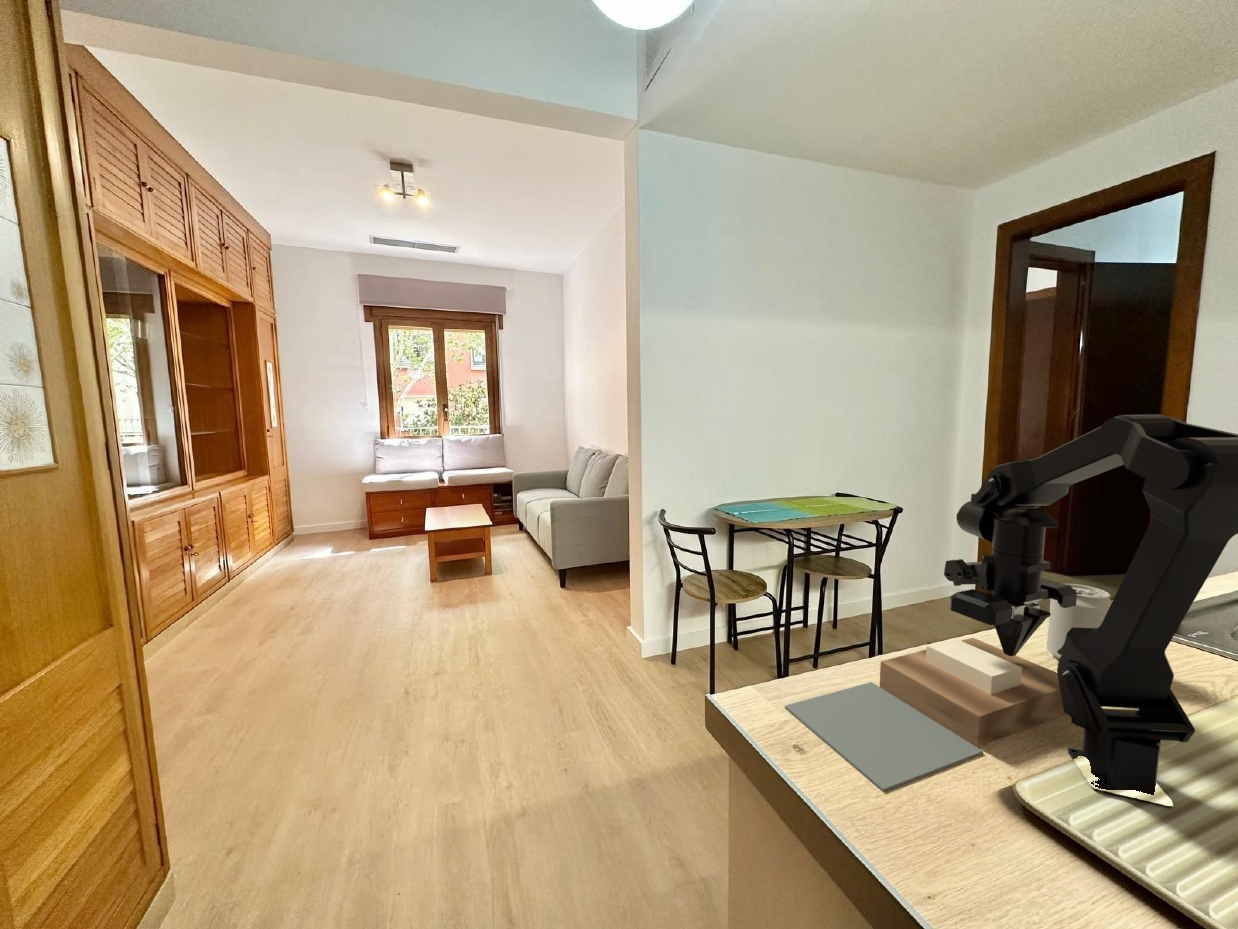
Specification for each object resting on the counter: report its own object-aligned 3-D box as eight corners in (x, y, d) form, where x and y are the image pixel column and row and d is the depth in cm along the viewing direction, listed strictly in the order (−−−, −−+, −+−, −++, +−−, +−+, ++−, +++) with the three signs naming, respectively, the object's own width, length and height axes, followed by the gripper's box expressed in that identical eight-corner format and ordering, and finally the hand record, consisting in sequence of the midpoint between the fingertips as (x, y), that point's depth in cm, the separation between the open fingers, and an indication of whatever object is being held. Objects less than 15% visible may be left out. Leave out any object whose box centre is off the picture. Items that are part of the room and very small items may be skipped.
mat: (871, 683, 72) (871, 682, 72) (982, 753, 57) (983, 751, 57) (784, 707, 67) (784, 705, 67) (883, 791, 52) (883, 789, 52)
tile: (953, 654, 73) (954, 638, 73) (1020, 685, 65) (1021, 667, 64) (925, 661, 71) (926, 645, 71) (990, 694, 63) (991, 676, 62)
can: (1045, 644, 84) (1050, 577, 82) (1105, 657, 79) (1112, 587, 77) (1047, 662, 78) (1053, 590, 76) (1113, 677, 73) (1120, 601, 72)
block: (971, 660, 78) (972, 637, 78) (1077, 710, 65) (1079, 682, 65) (879, 686, 72) (880, 661, 71) (977, 747, 59) (979, 716, 58)
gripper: (999, 532, 80) (993, 622, 81) (918, 544, 73) (913, 642, 75) (1083, 550, 69) (1074, 652, 71) (996, 566, 63) (988, 678, 64)
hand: (1009, 654), depth 71 cm, fingers closed
